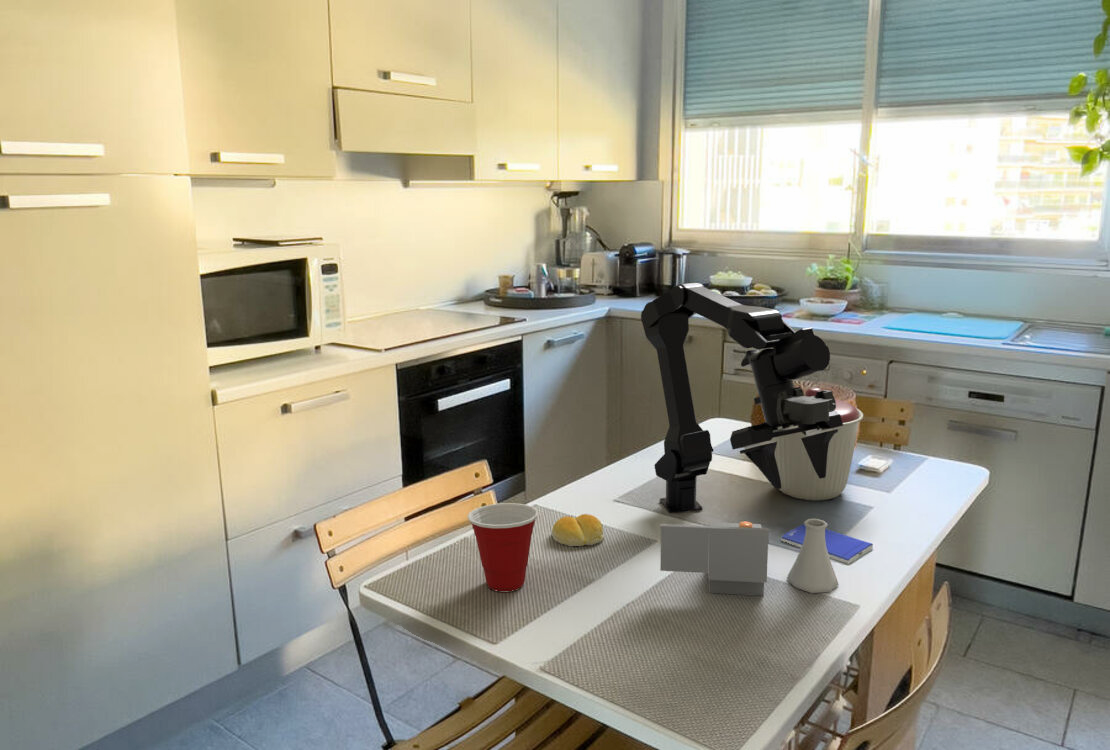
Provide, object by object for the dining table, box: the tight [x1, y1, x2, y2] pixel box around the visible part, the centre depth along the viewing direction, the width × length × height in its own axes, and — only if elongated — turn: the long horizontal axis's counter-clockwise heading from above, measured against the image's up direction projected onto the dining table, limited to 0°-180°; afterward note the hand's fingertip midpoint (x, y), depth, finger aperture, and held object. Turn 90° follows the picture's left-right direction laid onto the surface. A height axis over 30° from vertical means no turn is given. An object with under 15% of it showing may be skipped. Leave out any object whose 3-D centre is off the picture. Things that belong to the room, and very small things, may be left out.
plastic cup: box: [467, 502, 539, 592], centre depth 131 cm, size 11×11×12 cm
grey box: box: [707, 520, 766, 597], centre depth 130 cm, size 9×8×9 cm
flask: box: [786, 518, 839, 594], centre depth 129 cm, size 7×7×10 cm
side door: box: [659, 523, 770, 583], centre depth 125 cm, size 1×16×8 cm, turn 81°
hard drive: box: [780, 523, 874, 565], centre depth 143 cm, size 2×8×12 cm
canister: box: [770, 386, 864, 501], centre depth 165 cm, size 18×18×21 cm
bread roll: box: [551, 513, 605, 547], centre depth 148 cm, size 8×9×4 cm
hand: (801, 483), depth 132 cm, fingers open, 9 cm apart
